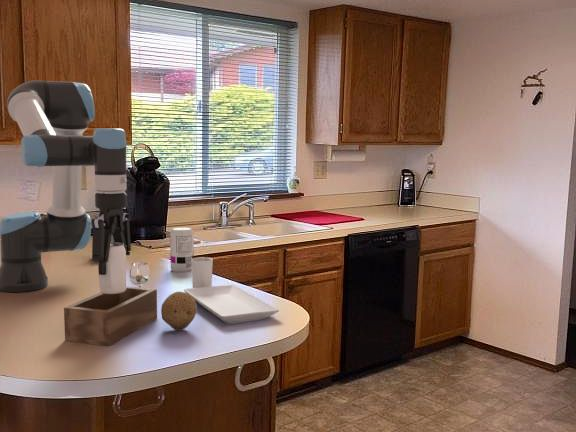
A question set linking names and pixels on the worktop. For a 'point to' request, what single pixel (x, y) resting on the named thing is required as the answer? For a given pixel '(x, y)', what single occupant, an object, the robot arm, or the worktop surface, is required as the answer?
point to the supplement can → (181, 249)
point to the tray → (231, 303)
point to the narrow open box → (110, 316)
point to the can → (116, 269)
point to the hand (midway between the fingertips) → (112, 283)
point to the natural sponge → (178, 310)
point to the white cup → (202, 272)
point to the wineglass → (139, 273)
